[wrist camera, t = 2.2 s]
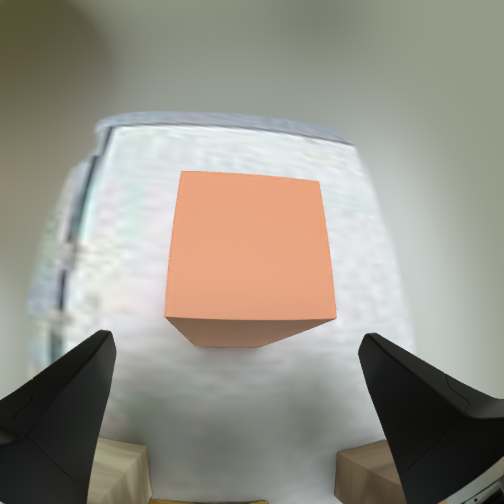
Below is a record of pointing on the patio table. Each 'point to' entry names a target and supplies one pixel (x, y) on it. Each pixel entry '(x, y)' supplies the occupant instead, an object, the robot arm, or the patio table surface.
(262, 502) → the shard
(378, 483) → the walnut block
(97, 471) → the birch block
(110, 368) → the robot arm
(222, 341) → the salmon orange block
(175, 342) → the patio table surface
